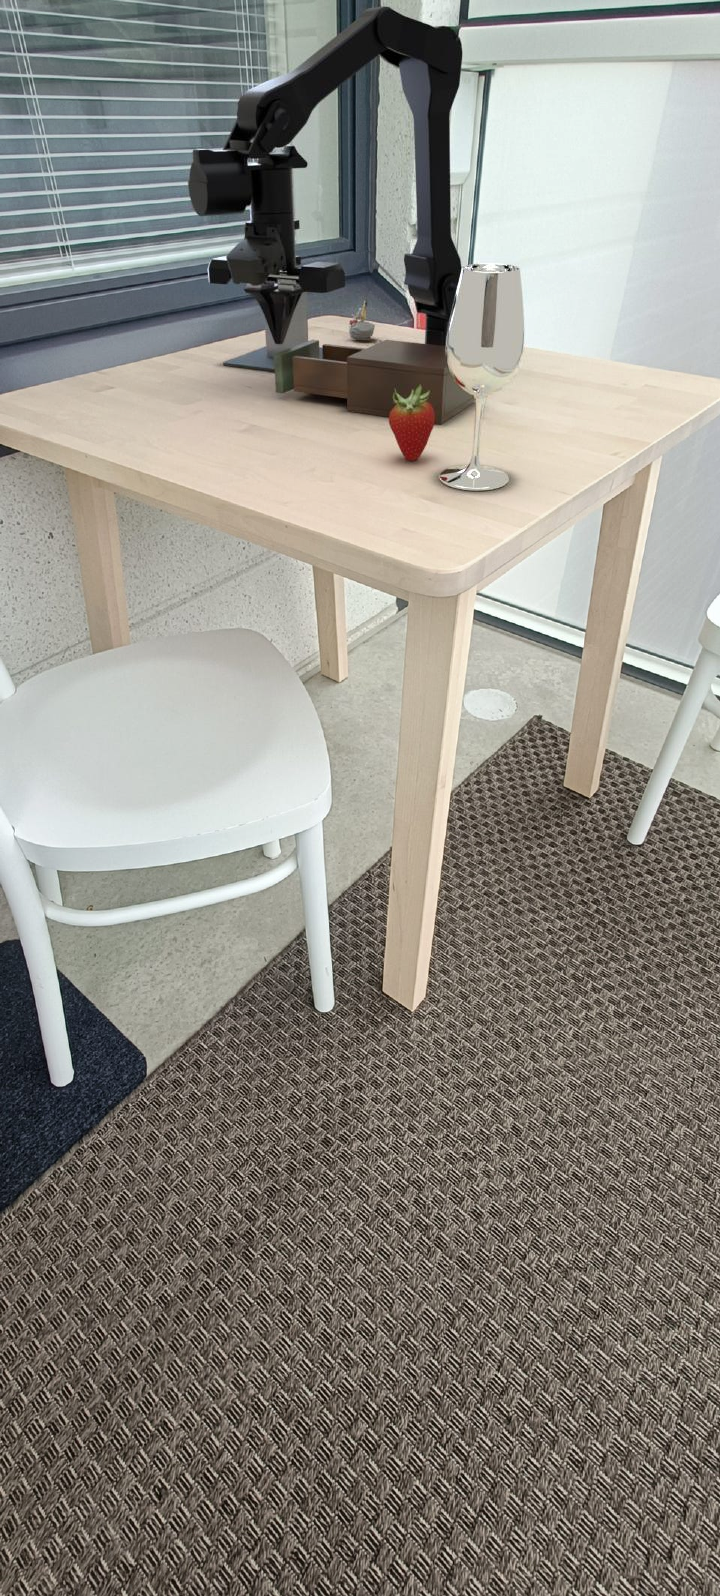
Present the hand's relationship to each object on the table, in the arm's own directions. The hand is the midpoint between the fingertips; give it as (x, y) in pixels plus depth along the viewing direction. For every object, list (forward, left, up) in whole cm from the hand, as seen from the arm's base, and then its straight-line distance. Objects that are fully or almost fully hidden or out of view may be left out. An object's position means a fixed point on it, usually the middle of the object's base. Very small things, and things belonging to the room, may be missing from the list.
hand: (279, 344), depth 124 cm
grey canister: (-14, -7, -5) cm, 17 cm away
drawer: (+2, +9, -5) cm, 10 cm away
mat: (-14, -7, -5) cm, 17 cm away
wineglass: (+25, +40, -6) cm, 47 cm away
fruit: (+22, +31, -6) cm, 38 cm away
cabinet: (+2, +22, -5) cm, 23 cm away
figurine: (-32, -3, -6) cm, 33 cm away
